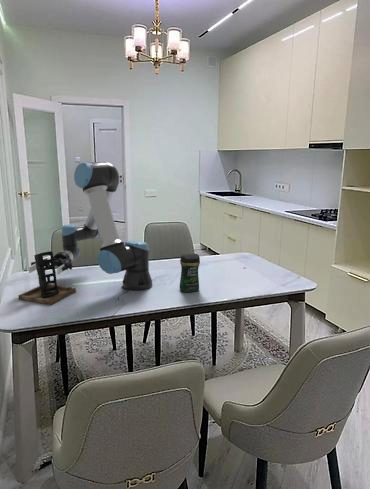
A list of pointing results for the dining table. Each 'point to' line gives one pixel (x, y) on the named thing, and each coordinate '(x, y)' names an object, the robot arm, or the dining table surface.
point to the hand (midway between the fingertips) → (43, 270)
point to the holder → (43, 276)
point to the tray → (36, 296)
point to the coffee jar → (189, 272)
